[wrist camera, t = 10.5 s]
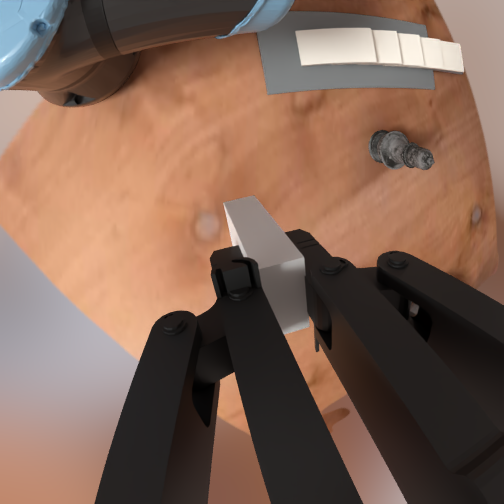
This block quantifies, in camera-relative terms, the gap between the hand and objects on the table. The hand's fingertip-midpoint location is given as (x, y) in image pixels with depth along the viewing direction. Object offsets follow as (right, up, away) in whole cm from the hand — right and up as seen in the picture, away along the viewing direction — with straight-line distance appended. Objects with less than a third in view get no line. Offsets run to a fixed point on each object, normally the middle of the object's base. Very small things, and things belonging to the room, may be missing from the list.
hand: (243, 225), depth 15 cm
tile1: (+6, +25, +18) cm, 32 cm away
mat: (+16, +28, +20) cm, 38 cm away
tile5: (+24, +29, +20) cm, 43 cm away
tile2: (+11, +26, +19) cm, 34 cm away
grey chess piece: (+21, +15, +28) cm, 38 cm away
